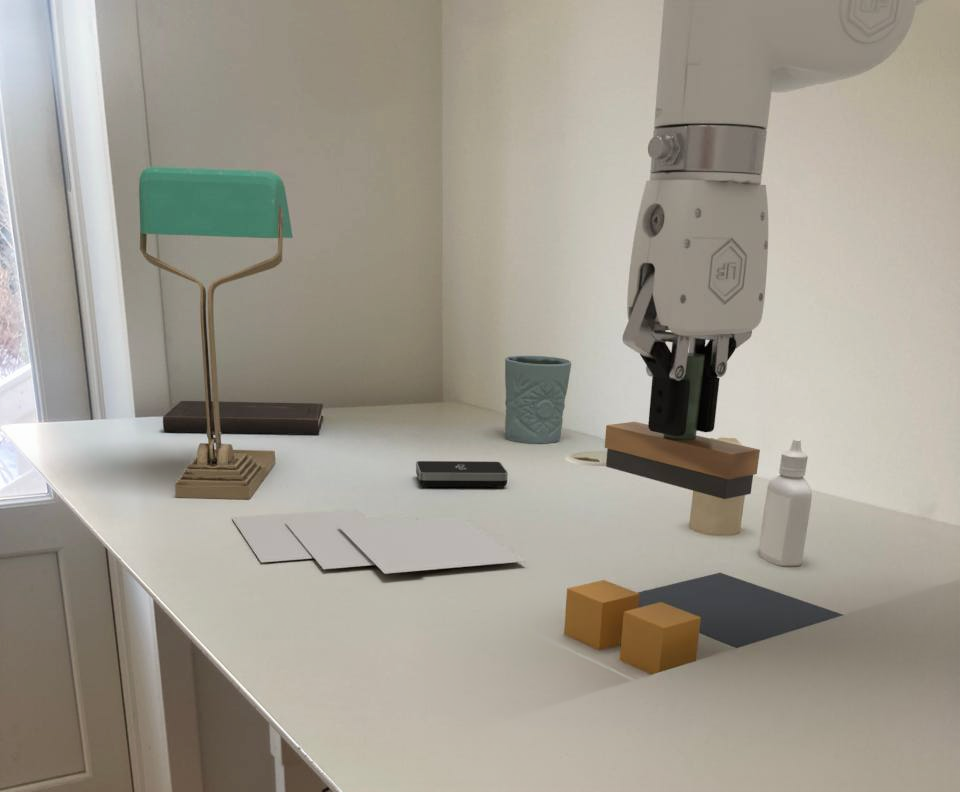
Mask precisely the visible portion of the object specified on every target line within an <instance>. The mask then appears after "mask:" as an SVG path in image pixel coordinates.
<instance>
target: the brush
mask: <svg viewBox="0 0 960 792" xmlns="http://www.w3.org/2000/svg"><path fill="white" fill-rule="evenodd" d="M704 360H705V355H703V354H698V353H689V352H688V357H687V365H686V373H685V376H684V378H683V380H689V381H690V393H689V403H688V413H687V423H686V432H685V433H684V435H682V436H672V435H667V434H662V433H658V432H653V431H650V430H649V427H648V424H647V423H644V422H643V423H642V422H638V421H627V422H620V423H613V424H606V425H605V436H604V449H606V462H605V467H606V468H609V469H613V470H616V471H620V472H623V473H627V474H631V475H635V476H638V477H642V478H646V479H649V480H652V481H656V482H660V483H664V484H667V485H671V486H673V487H679V488H681V489H685V490H689V491H692V492H693V491H696V492H700V493H703V494H707V495H711V496H714V497H718V498H722V499H728V498H733V497H738V496H743V495H745V496H747V495H751V494H752V486H753V480H754V475H757V474H758V468H759V459H760V452H761V449H760V448H759V449H758V448H755V447H750V446H745V445H743V446H741V445H737V444H732V443H728V442H724V441H719V440H715V439H716V438H714V439H710V438H711V437H710V438H709V437H705V436H701V435H697V432H698V431H697V423H698V414H699V405H700V396H701V387H702V378H703V369H704Z"/></svg>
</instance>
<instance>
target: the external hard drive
mask: <svg viewBox="0 0 960 792" xmlns="http://www.w3.org/2000/svg"><path fill="white" fill-rule="evenodd" d="M415 474H416V476H417V479H418V482H419V485H420V486H421V487H423V488H495V489H496V488H504V487H506V486H507V484H508V470H507V469H506V468H505V466H504V465H503V463H502V462H500V461H484V460H483V461H482V460H481V461H476V460H475V461H474V460H473V461H471V460H468V461H467V460H464V461H463V460H459V461H458V460H455V461H454V460H418V461H417V460H416V462H415Z"/></svg>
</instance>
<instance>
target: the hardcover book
mask: <svg viewBox="0 0 960 792" xmlns="http://www.w3.org/2000/svg"><path fill="white" fill-rule="evenodd" d="M211 404H212V420H213V432H215V424H214V408H213V400H211ZM323 407H324V403H311V402H310V403H308V402H266V401H265V402H264V401H263V402H259V401H256V402H255V401H219V417H220V432H221V433H222V434H259V435H261V434H263V435H265V434H266V435H315V436H316V435H317V436H319V435H320V431H321V427H322V424H323V421H324V415H323V414H322V411H323ZM162 427H163V432H164V433H201V434H203V433H204V434H207V413H206V400H180V401H179V402H178V403H177V404H176V405H175V406H174V407H173V408H171V409H170V410H169V411H168V412H167V413H166V414H165V415H164V416H162Z"/></svg>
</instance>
